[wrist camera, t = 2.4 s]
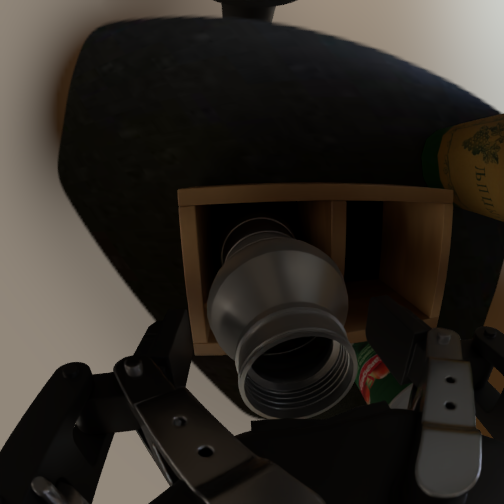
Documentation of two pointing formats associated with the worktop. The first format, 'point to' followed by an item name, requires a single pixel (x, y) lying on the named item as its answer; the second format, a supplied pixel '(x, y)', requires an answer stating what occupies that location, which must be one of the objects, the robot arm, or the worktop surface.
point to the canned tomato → (378, 379)
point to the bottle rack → (331, 244)
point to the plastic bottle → (281, 319)
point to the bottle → (469, 164)
